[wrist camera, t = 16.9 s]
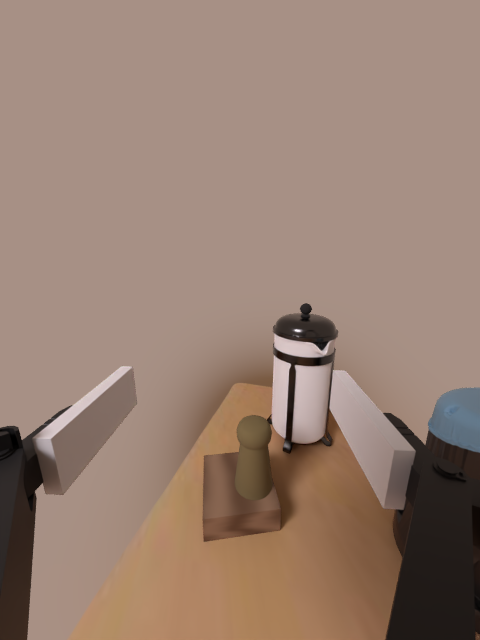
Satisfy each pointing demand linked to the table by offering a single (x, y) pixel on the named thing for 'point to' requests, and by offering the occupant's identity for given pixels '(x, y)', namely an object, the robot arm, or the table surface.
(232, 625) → the table surface
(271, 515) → the walnut base
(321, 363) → the coffee press
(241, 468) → the olive pawn
